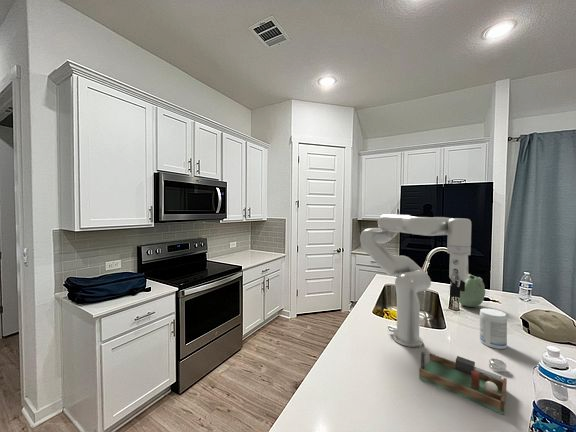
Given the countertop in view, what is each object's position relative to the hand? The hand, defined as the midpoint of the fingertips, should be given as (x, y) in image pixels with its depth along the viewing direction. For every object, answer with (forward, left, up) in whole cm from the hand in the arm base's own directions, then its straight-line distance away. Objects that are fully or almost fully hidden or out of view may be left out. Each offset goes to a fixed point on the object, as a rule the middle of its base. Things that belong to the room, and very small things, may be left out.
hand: (457, 293), depth 96 cm
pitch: (+4, -12, -28) cm, 31 cm away
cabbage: (-6, +78, -28) cm, 83 cm away
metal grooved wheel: (+12, +8, -29) cm, 32 cm away
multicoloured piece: (+8, -12, -27) cm, 30 cm away
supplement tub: (+9, +30, -28) cm, 42 cm away
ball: (+12, -12, -25) cm, 30 cm away
